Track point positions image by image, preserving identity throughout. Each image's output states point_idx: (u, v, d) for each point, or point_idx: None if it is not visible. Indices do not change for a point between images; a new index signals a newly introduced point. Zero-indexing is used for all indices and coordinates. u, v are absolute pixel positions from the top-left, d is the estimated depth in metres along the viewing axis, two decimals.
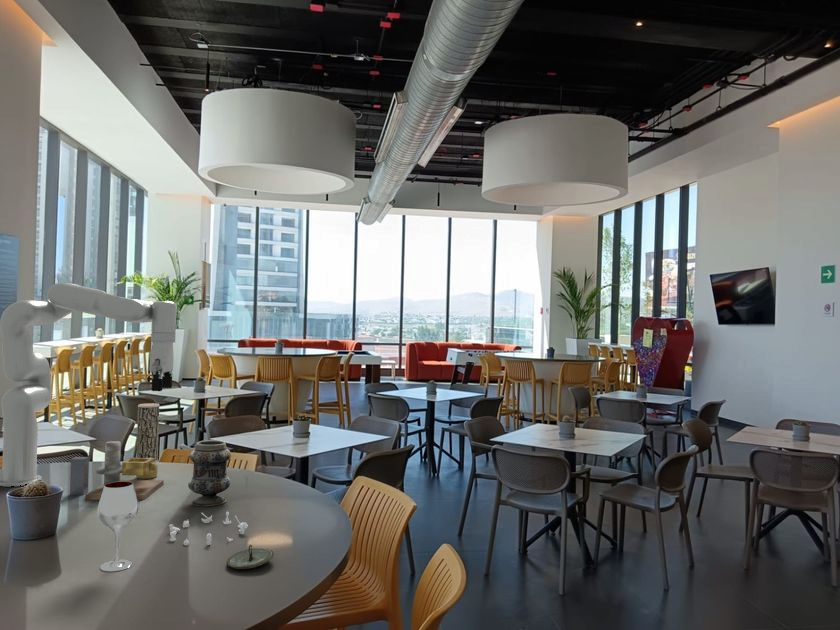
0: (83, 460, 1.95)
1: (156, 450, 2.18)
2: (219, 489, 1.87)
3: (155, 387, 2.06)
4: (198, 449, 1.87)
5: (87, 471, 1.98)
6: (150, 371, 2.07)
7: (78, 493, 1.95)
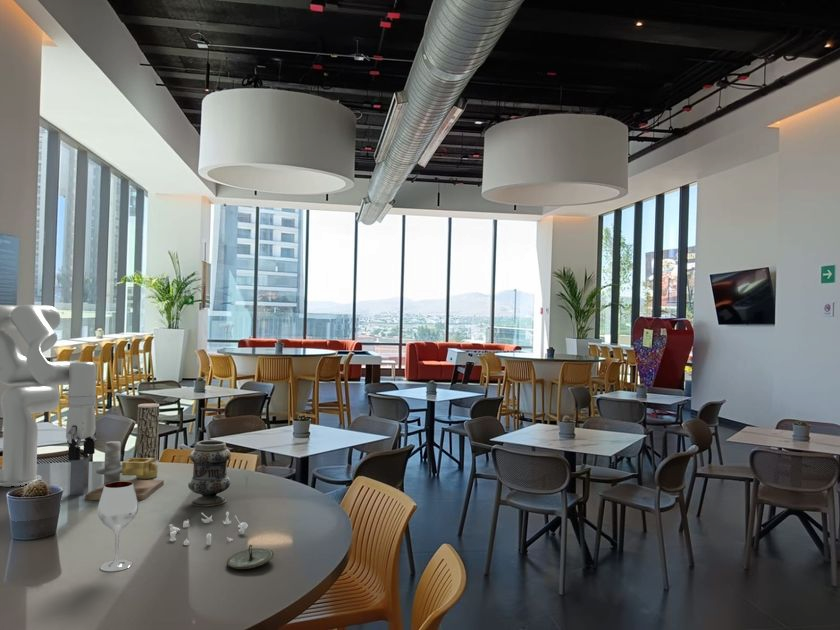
0: (83, 460, 1.95)
1: (156, 450, 2.18)
2: (219, 489, 1.87)
3: (72, 456, 1.91)
4: (198, 449, 1.87)
5: (87, 471, 1.98)
6: (67, 439, 1.92)
7: (78, 493, 1.95)
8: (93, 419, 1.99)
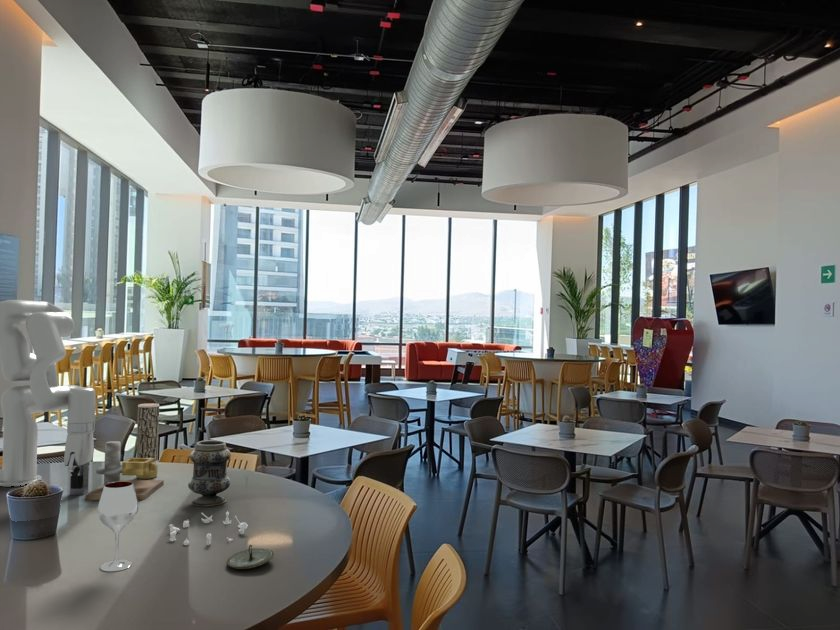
0: None
1: (156, 450, 2.18)
2: (219, 489, 1.87)
3: (74, 485, 1.94)
4: (198, 449, 1.87)
5: (87, 471, 1.98)
6: (65, 465, 1.92)
7: (78, 493, 1.95)
8: (91, 445, 1.99)
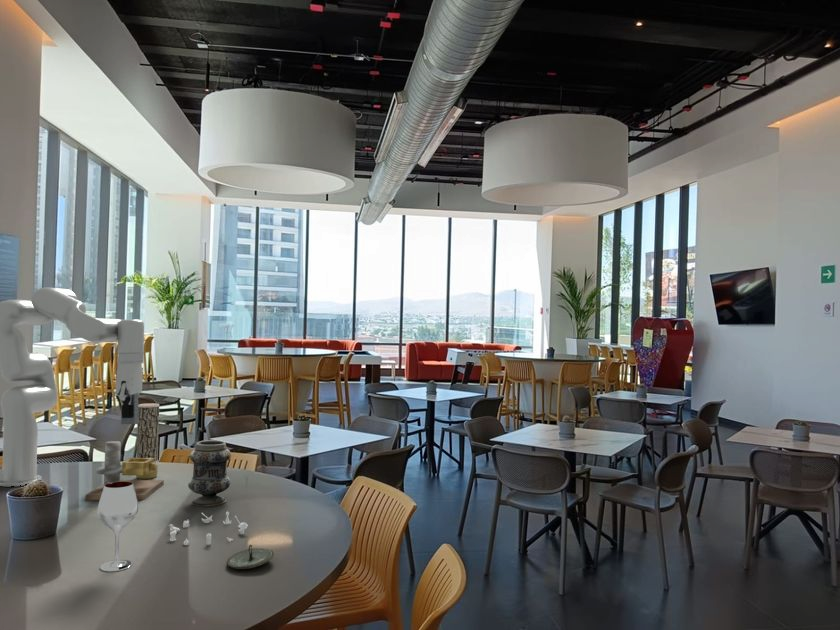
0: None
1: (156, 450, 2.18)
2: (219, 489, 1.87)
3: (125, 414, 1.97)
4: (198, 449, 1.87)
5: (137, 401, 2.00)
6: (116, 394, 1.95)
7: (129, 422, 1.98)
8: (141, 376, 2.02)
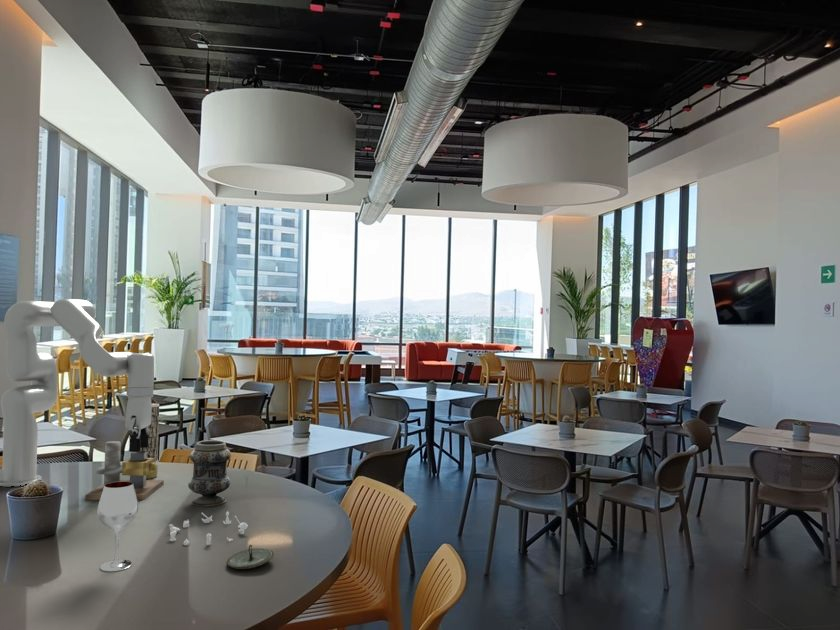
0: (143, 454, 1.99)
1: (156, 450, 2.18)
2: (219, 489, 1.87)
3: (133, 448, 1.96)
4: (198, 449, 1.87)
5: None
6: (126, 428, 1.95)
7: (138, 487, 1.98)
8: (150, 410, 2.03)
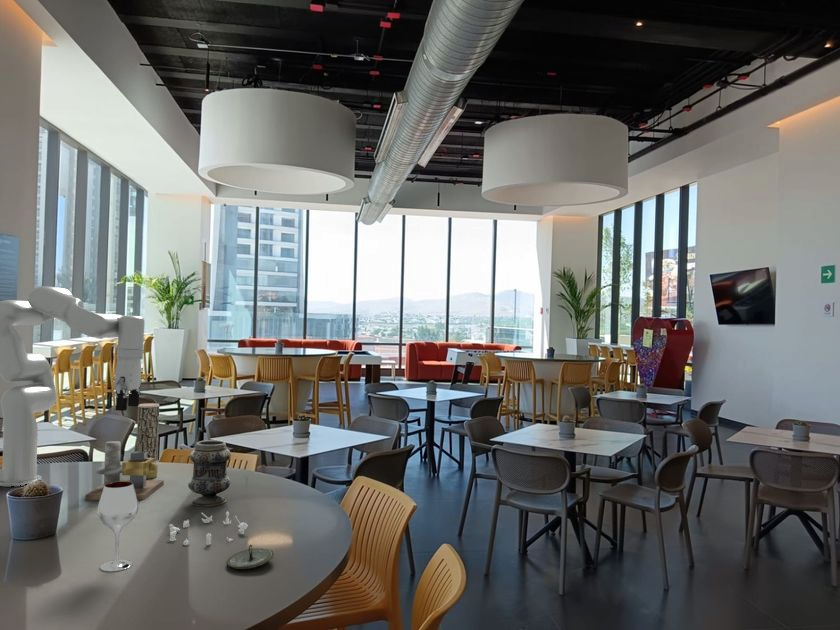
0: (143, 454, 1.99)
1: (156, 450, 2.18)
2: (219, 489, 1.87)
3: (119, 406, 1.96)
4: (198, 449, 1.87)
5: None
6: None
7: (138, 487, 1.98)
8: (139, 372, 2.04)
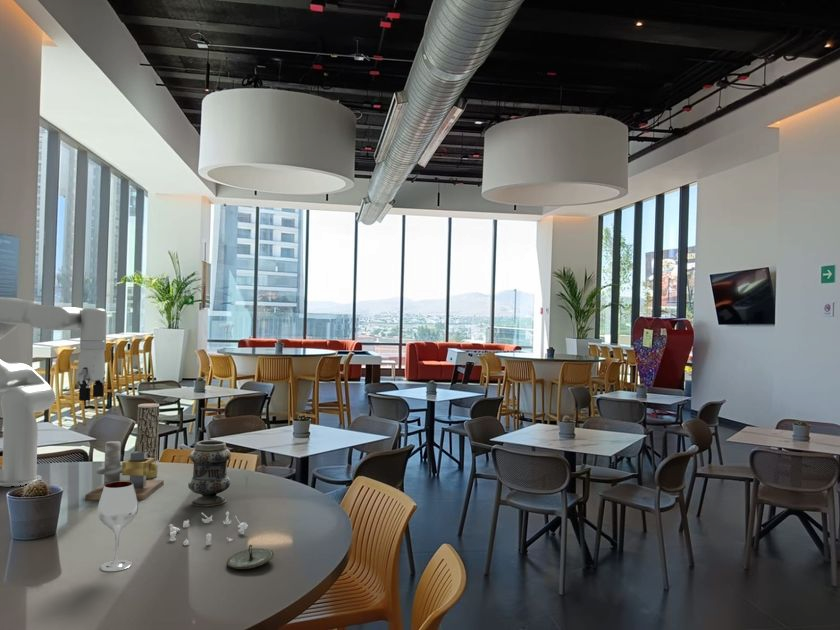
0: (143, 454, 1.99)
1: (156, 450, 2.18)
2: (219, 489, 1.87)
3: (82, 396, 2.00)
4: (198, 449, 1.87)
5: None
6: (78, 380, 2.01)
7: (138, 487, 1.98)
8: (103, 363, 2.09)
